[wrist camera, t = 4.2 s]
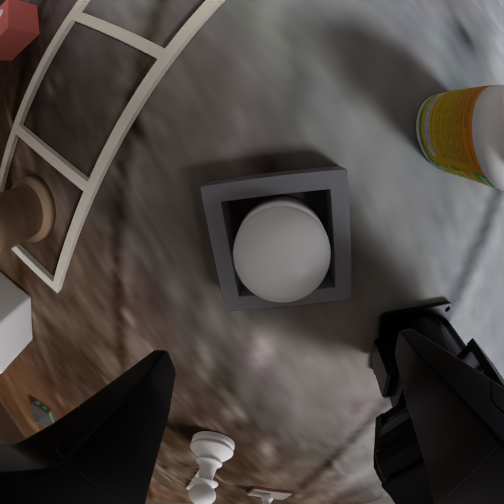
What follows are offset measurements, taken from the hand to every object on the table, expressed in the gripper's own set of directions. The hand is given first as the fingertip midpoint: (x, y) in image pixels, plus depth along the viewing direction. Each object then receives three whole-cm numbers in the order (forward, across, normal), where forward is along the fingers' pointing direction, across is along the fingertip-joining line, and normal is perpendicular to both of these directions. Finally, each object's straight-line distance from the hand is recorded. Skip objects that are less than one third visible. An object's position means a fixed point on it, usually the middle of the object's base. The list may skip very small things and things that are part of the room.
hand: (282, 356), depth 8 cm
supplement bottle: (+11, -12, -6) cm, 17 cm away
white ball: (+11, 0, 0) cm, 11 cm away
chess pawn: (+11, +10, +24) cm, 28 cm away
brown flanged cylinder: (+11, +20, -5) cm, 23 cm away
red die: (+11, +19, -22) cm, 31 cm away
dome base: (+11, 0, 0) cm, 11 cm away
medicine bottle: (+11, +30, +4) cm, 32 cm away
